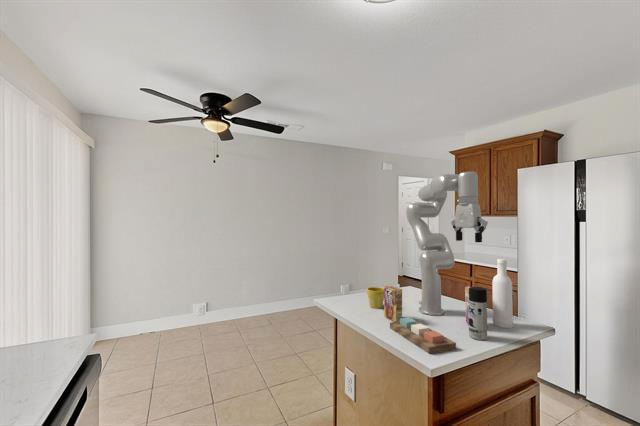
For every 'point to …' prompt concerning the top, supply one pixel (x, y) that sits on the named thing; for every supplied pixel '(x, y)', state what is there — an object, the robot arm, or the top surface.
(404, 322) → the teal button
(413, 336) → the control board
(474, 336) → the spray can
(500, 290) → the bottle
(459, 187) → the robot arm
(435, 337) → the brick red button
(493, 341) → the top surface
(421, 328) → the cream button
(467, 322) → the candy bar box
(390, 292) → the candy box
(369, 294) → the plant pot
